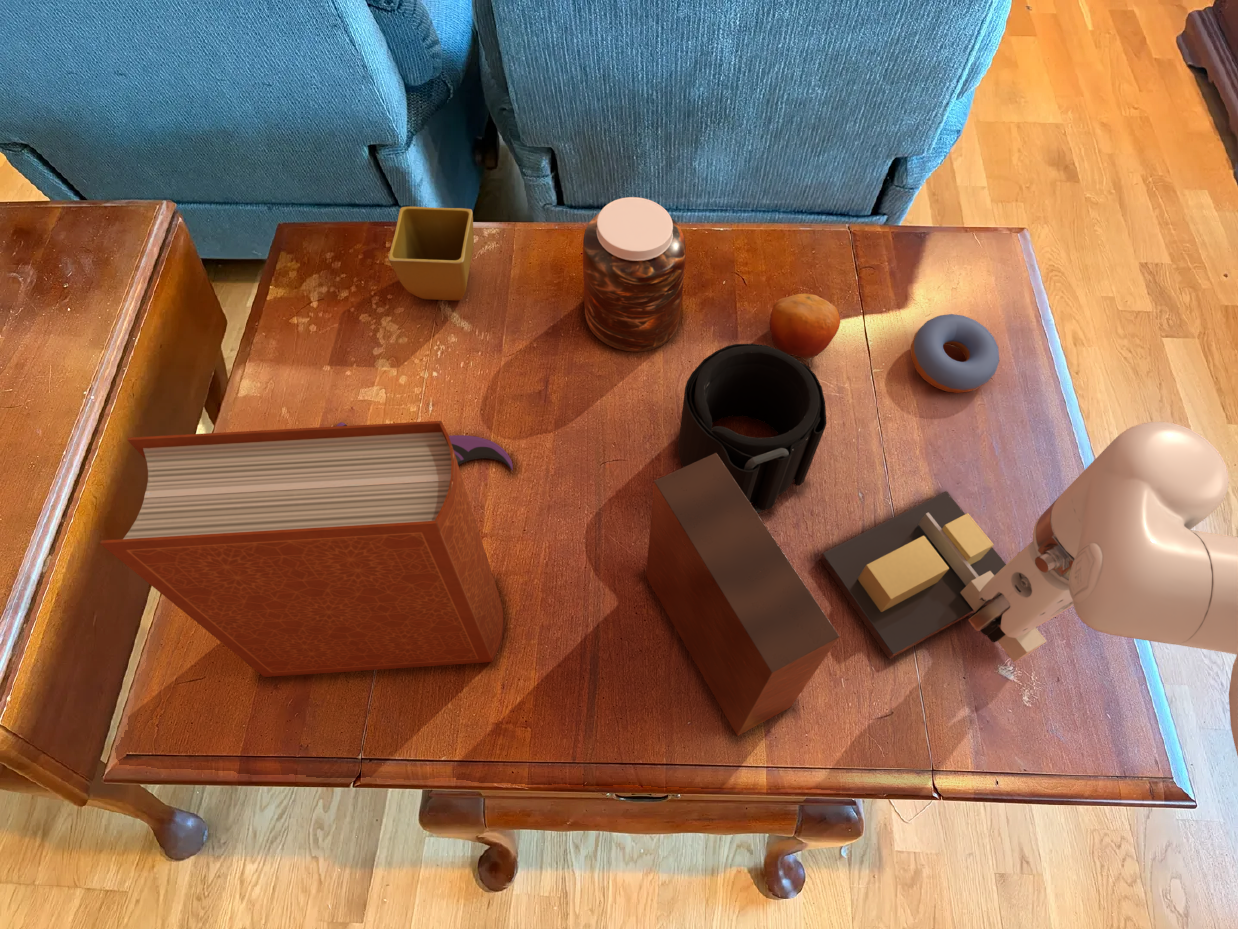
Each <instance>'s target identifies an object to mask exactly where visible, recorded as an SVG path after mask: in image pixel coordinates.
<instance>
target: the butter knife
mask: <svg viewBox="0 0 1238 929" xmlns="http://www.w3.org/2000/svg"><path fill="white" fill-rule="evenodd" d="M919 526H920V527H921V528H922V530H923V531H924V532H925V533H926V535H927V536H928V537H929V539H930V540H931V541H932V543H933V544H934V545H935V546H936V548H937V549H938V550H939V552H940V553H941V554H942V555H943V557H944V558H945V559H946V561H947V562H948V563H949V564H950V566H951V567H952V568H953V570H954V571H955V572H956V573H957V575H958V576H959V577H960V579H961V580H962V581H963V582H964V584H965V585H966V587H965V588H964V589H963V590H962V591H961V592H960V593H961V594H962V596H963V597H964V598H965V600H966V601H967V602H968V604H969V605H970V606H971V607H972V609H973V610H974V611H975V612H976V611H977V610H978V609H979V608H980V607H981V606H982V605H983V604H984V603H985V602H986V601H987V600H985V601H984V602H983V601H982V600H979V593H980V591H981V589H982V588H983V587H984V586H985V585H986V584H987V583H988V582H989V581H990V580H991V579H992V578H993V577H994V575H993V573H992V572H991V571H988V572H987V573H985V574H983V575H981V576H978V574H977V573H976V572H975V571H974V569H973V568H972V567H971V566H970V564H969V563H968V562H967V560H966V559H965V558H964V557H963V555H962V554H961V553H960V552H959V550H958V549H957V548H956V547H955V545H954V544H953V543H952V541H951V540H950V539H949V538H948V536H947V535H946V534H945V533H944V531H943V530H942V529H941V527H940V526H939V525H938V524H937V522H936V521H935V520H934V519H933V517H932V516H931V515H930V514H929V512H928V513H926V514H925V515H924V517H923V518H922V520H921V521H920V522H919ZM975 612H974V613H975ZM1037 628H1038V627H1036V628H1034V629H1032V630H1031V631H1029V632H1027V633H1025V634H1023V635H1021V636H1019V637H1016V638H1011V637H1008V636H1007V635H1004V636H1003V637H1002V638H1001V639H1000V640H998V641H997V643H998V644H999V645H1000V647H1001V649H1003V651H1004V652H1005V653H1006V655H1007V657H1009V659H1010V660H1011V661H1012V662H1013V663H1015V662H1017V661H1019V660H1021V659H1022V658H1024V657H1026V656H1027V655H1030V654H1031V653H1032V652H1034V651H1035V650H1037V649H1039V647H1041V646H1042V645H1044V644H1045V643H1047V640H1046V638H1045V637H1044V636H1043V635H1042V633H1041V631H1039V630H1038V629H1037Z"/></svg>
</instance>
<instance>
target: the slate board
mask: <svg viewBox="0 0 1238 929" xmlns="http://www.w3.org/2000/svg"><path fill="white" fill-rule="evenodd" d="M928 512H929V514H930V515H931V516H932V517H933V519H934V520H935V521H936V522H937V524H938V525H939V526H940V527H941V529H942V528H943V527H944V525H946V524H948V523H949V522H951V521H953V520H955V519H957V518H959V517H961V516H963V515H965V514H966V513H965V512H964V510H963V509H962V508H961V507H960V505H958V503H957V501H955V499H954V498H953V497H952V496H951V494H950V493H949V492H948V491H947V490H946V491H943V492H942V493H940V494H939V493H938V494H937V495H935V496H933V497H931V498H929V499H927V500H925V501H923V502H922V503H919V504H917V505H915V506H913V507H912V508H909V509H907V510H906V511H903V512H902V513H899V514H897V515H896V516H894V517H892V518H890V519H888V520H885V521H884V522H883V521H882V523H879V524H877V525H875V526H873V527H871V528H870V529H868V530H865V531H863V532H862V533H859V534H857V535H856V536H854V537H852V538H850V539H848V540H845V541H844V542H841V543H839V544H837V545H836V546H834V547H832V548H829V549H827V550H825V551H824V552H822V554H821V555H820V557H819V560H820V562H821V563H822V565H823V566H824V568H825V569H826V571H827V572H828V573H829V575H830V576H831V578H832V579H833V581H834V582H835V584H836V585H837V586H838V588H839V589H840V592H842V594H843V595H844V597H845V598H846V599H847V601H848V602H849V604H850V605H851V607H852V608H853V609H854V611H855V612H856V613H857V615H858V617H859V618H860V620H861V621H862V622H863V624H864V626H865V627H866V629H867V630H868V632H870V634H871V635H872V637H873V639H875V641H876V642H877V645H879V648H881V650H882V652H883V653H884V654H885V656H886V657H887V658H888V659H889V660H891V659H892V658H894V657H895V656H898V655H900V654H901V653H904V651H907V650H909V649H910V648H912V647H914V646H916V645H918V644H919V643H921V642H923V641H925V640H926V639H928V638H930V637H932V636H934V635H936V634H938V633H940V632H941V631H943V630H945V629H947V628H948V627H950V626H952V625H954V624H956V623H957V622H959V621H961V620H963V619H965V618H966V617H968V616H970V615H973V614H974V613H975V611H974V610H973V609H972V607H971V606H970V605H969V604H968V602H967V601H966V600H965V598H964V597H963V596H962V594H961V593H960V592H961V591H962V590H963V589H964V588H965V587H966V585H965V584H964V582H963V581H962V580H961V579H960V577H959V576H958V575H957V573H956V572H955V571H954V570H953V568H952V567H951V566H950V564H949V563H948V562H947V561H946V559H945V558H944V557H943V555H942V554H941V553H940V552H939V550H938V549H937V548H936V546H935V545H934V544H933V543H932V541H931V540H930V539H929V537H928V536H927V535H926V533H925V532H924V531H923V530H922V528H921V527H920V526H919V522H920V521H921V520H922V518H923V517H924V515H925V514H926V513H928ZM922 536H925V537H926V539H927V540H928V541H929V543H930V544H931V545H932V547H933V548H934V549H935V550H936V552H937V553H938V554H939V556H940V557H941V558H942V559H943V561H944V562H945V563H946V565H947V566H948V567H949V569H948V571H947V572H946V573H945V574H944V575H943V576H942V578H941V579H940V580H939V581H938V582H937V583H935V584H933V585H932V586H930V587H928V588H926V589H924V590H922V591H920V592H918V593H917V594H915V595H913V596H911V597H909V598H907V599H905V600H903V601H902V602H900V603H898V604H896V605H894V606H892V607H890V608H888V609H887V610H885V611H883V612H881V611H880V610H879V609H878V607H877V606H876V604H875V603H874V602H873V600H872V599H871V597H870V596H869V594H868V593H867V592H866V590H865V589H864V587H863V586H862V585H861V583H860V582H859V580H858V577H859V576H860V574H861V573H862V571H863V570H864V568H865V567H866V565H867V564H869V563H871V562H873V561H875V560H877V559H879V558H881V557H883V556H885V555H887V554H889V553H891V552H893V551H895V550H897V549H898V548H900V547H902V546H904V545H906V544H908V543H910V542H912V541H914V540H916V539H918V538H920V537H922ZM1006 564H1007V563H1006V562H1005V561H1004V560H1003V558H1002V557H1001V556H1000V554H999V553H998V552H997V551H996V549H994V547H992V548H991V549H990V550H989V551H988V552H987V553H986V554H985V555H984V556H983V557H982V558H981V559H980V560H979V561H977V562H975V563H973V564H971V565H970V566H971V567H972V568H973V569H974V571H975V572H976V573H977V574H978V576H981V575H983V574H985V573H987V572H988V571H991V572H992V573H993V575H994V576H995V575H996V574H997V573H998V572H999V571H1000V570H1001V569H1002V568H1003V567H1004V566H1005V565H1006Z"/></svg>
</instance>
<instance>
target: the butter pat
mask: <svg viewBox="0 0 1238 929" xmlns="http://www.w3.org/2000/svg"><path fill="white" fill-rule="evenodd" d="M942 530H943V531H944V533H945V534H946V535H947V536H948V538H949V539H950V540H951V541H952V543H953V544H954V545H955V547H956V548H957V549H958V550H959V552H960V553H961V554H962V555H963V557H964V558H965V559H966V560H967V562H968V563H969V564H970V565H971V564H973V563H975V562H977V561H979V560H980V559H981V558H982V557H983V556H984V555H985V554H986V553H987V552H988V551H989V550H990V549H991V548H993V547H994V545H995V544H994V543H993V541H992V540H991V539H990V538H989V537H988V535H987V534H986V533H985V532H984V531H983V529H982V528H981V527H980V526H979V525H978V523H977V522H976V521H975V520H974V519H973V517H972V516H971V515H970V514H969V513H968V512H967V513H965V515H963V516H961V517H959V518H957V519H955V520H953V521H951V522H949V523H948V524H946V525H944V527H943V528H942Z"/></svg>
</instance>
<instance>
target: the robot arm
mask: <svg viewBox="0 0 1238 929" xmlns="http://www.w3.org/2000/svg"><path fill="white" fill-rule="evenodd" d="M1229 484H1230V479H1229V472H1228V467H1227V464H1226V462H1225V460H1224V459H1223V456H1222V455H1221V454H1220V451H1218V449H1217V448H1216V447H1215V446H1214V445H1213V444H1212V443H1211V442H1210V441H1209V440H1208V439H1207V438H1205V437H1204V436H1202V435H1201V434H1200V433H1198V432H1196V431H1194V430H1193V429H1191V428H1189V427H1186V426H1184V425H1181V424H1177V423H1173V422H1168V421H1147V422H1141V423H1139V424H1136V425H1133V426H1131V427H1128V428H1127V429H1125V430H1124V431H1122V432H1121V433H1120V434H1119V435H1117V436H1116V437H1114V439H1113V440H1112V441H1111V442H1110V443H1109V444H1108V446H1106V447H1105V448H1104V449H1103V450H1102V451H1101V452H1100V453H1099V455H1097V457H1096V458H1095V459H1093V461H1092V462H1091V463H1090V464H1089V465H1088V466H1087V467H1086V468H1085V469H1084V470H1083V471H1082V472H1081V473H1080V474H1079V475H1078V476H1077V478H1075V479H1074V481H1073V482H1072V483H1071V484H1069V486H1068V487H1067V488H1066V489H1065V490H1064V491H1063V492H1062V493H1061V494H1060V495H1059V496H1058V497H1057V498H1056V499H1055V501H1053V502H1052V503H1051V504H1050V506H1048V507H1047V509H1046V510H1045V511H1044V512H1043V513H1042V514H1041V515H1040V516H1039V517H1038V518H1037V520H1036V521H1035V524H1034V526H1033V529H1032V541H1031V542H1030V543H1029V544H1028V545H1026V547H1024V548H1023V549H1022V550H1021V551H1018V552H1017V554H1016V555H1015V556H1014V557H1012V558H1011V560H1010V561H1008V562H1007V563H1005V564H1006V565H1005V566H1004V567H1003V568H1002V569H1001V570H1000V571H999V572H998V573H997V574H996V575H995V576H994V577H993V578H992V579H991V580H990V581H989V582H988V583H987V584H986V585H985V586H984V587H983V588H982V589H981V591H980V593H979V600H982V601H983V602H984V601H985V600H987V601H986V602H985V603H984V604H983V605H982V606H981V607H980V608H979V609H978V610H977V611H976V612H974V613H972V616H970V618H968V619H967V621H968V622H969V623H970V625H971V626H972V627H973V629H974V630H975V631H976V632H979V631H980V632H981V634H982V635H984V636H986V637H987V638H988V639H989V641H991V643H993V644H994V643H998V640H1000V639H1001V638H1002V637H1003V636H1004V635H1007V636H1008V637H1011V638H1016V637H1019V636H1021V635H1023V634H1025V633H1027V632H1029V631H1031V630H1032V629H1034V628H1039V626H1041V625H1044V624H1045V623H1047V622H1048V621H1050V620H1052V619H1053V618H1055V617H1057V616H1059V615H1060V614H1062V613H1064V612H1065V611H1067V610H1069V609H1070V608H1072V607H1073V608H1074V611H1075V614H1076V615H1077V617H1078V618H1079V619H1080V621H1081V622H1082V623H1083V624H1084V625H1085V626H1087V627H1088V628H1090V629H1092V630H1094V631H1096V632H1099V633H1103V634H1107V635H1110V636H1117V637H1120V638H1121V637H1122V638H1128V639H1135V640H1141V641H1147V642H1153V643H1154V642H1155V643H1161V644H1168V645H1173V646H1174V645H1175V646H1181V647H1187V648H1193V649H1194V648H1195V649H1199V650H1207V651H1212V652H1213V651H1214V652H1220V653H1225V654H1229V655H1230V654H1231V655H1236V656H1235V659H1234V662H1233V663H1232V669H1231V673H1230V674H1231V675H1230V682H1229V688H1228V703H1229V704H1228V706H1229V720H1230V729H1231V735H1232V739H1233V740H1232V741H1233V744H1234V748H1235V752H1236V756H1237V757H1238V536H1233V535H1226V534H1220V533H1215V532H1214V533H1213V532H1208V531H1199V530H1194V528H1195V527H1196V526H1197V525H1199V524H1200V523H1201V522H1203V521H1204V520H1206V519H1207V518H1208V517H1210V515H1212V514H1213V513H1214V512H1215V511H1217V510H1218V508H1219V507H1220V506H1221V505H1222V503H1223V502H1224V501H1225V497H1226V496H1227V494H1228V490H1229Z"/></svg>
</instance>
